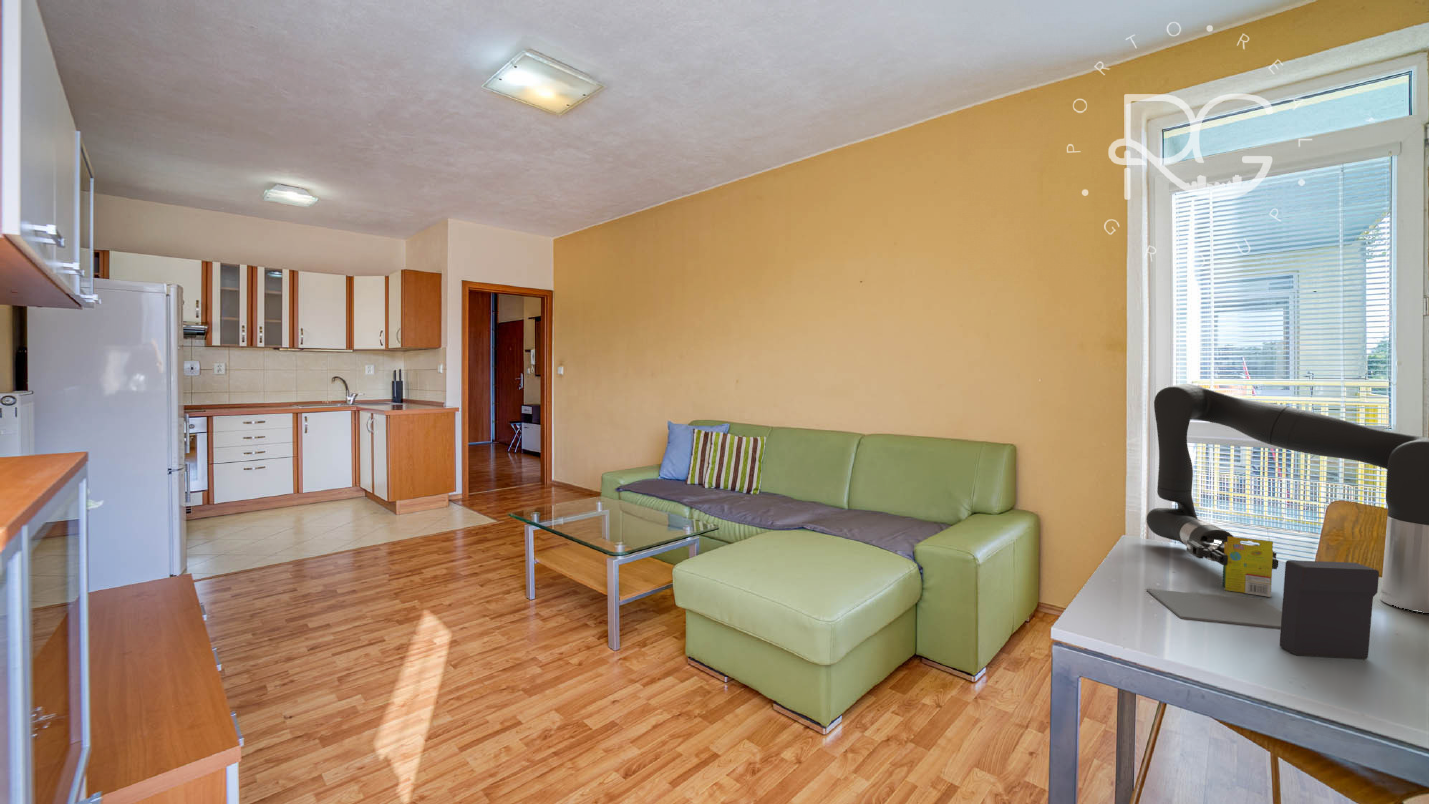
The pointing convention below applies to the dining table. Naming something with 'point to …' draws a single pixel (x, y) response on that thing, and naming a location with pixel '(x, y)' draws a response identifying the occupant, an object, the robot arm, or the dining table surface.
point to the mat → (1220, 608)
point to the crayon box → (1248, 566)
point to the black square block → (1327, 608)
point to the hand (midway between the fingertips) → (1250, 562)
